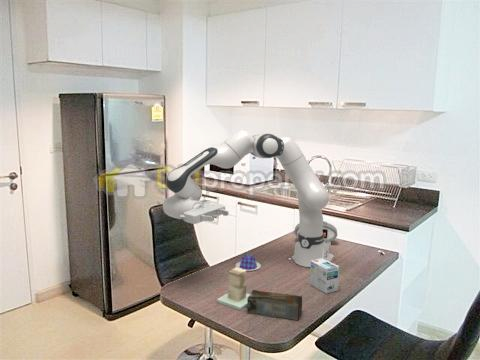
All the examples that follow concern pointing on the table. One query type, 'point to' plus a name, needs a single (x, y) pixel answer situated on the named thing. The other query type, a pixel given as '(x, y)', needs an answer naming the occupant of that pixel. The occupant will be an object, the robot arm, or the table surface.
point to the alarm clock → (327, 229)
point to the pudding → (248, 263)
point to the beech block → (237, 284)
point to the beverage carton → (274, 304)
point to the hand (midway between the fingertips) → (220, 216)
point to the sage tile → (233, 302)
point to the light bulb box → (324, 275)
